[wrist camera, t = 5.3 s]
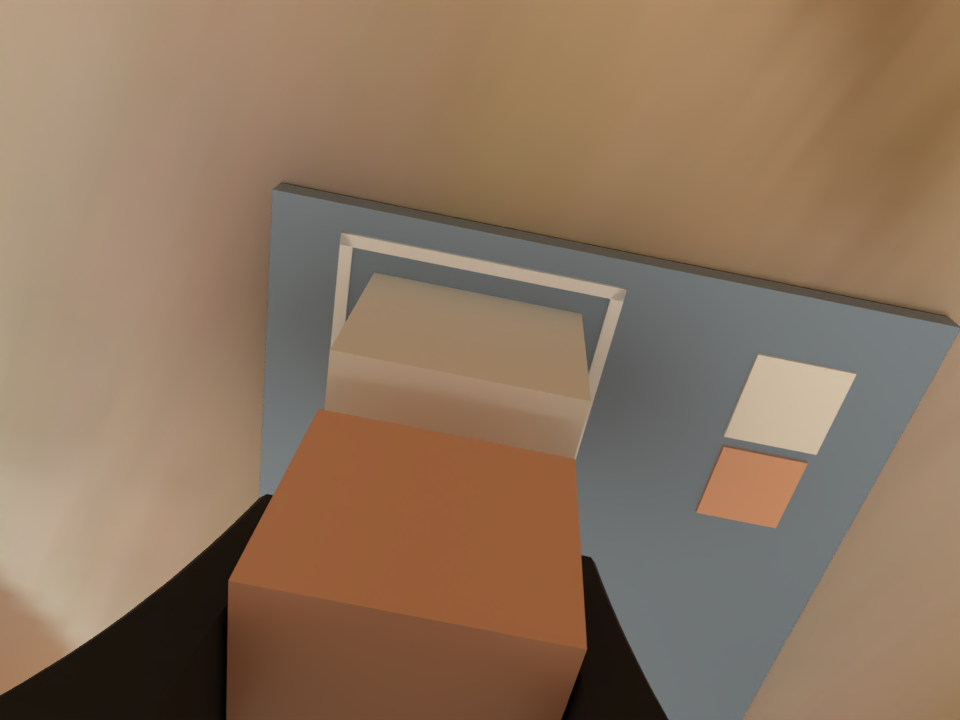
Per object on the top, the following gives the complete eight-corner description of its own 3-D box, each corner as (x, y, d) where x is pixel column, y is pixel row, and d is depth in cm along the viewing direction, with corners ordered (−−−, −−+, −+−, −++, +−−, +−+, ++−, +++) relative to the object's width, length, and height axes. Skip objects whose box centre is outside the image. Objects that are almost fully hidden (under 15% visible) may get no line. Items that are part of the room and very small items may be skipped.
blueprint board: (948, 316, 17) (963, 329, 16) (701, 768, 26) (705, 788, 25) (281, 182, 17) (271, 190, 16) (256, 684, 25) (249, 702, 25)
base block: (581, 313, 17) (591, 401, 14) (536, 479, 19) (534, 590, 16) (374, 272, 17) (329, 349, 14) (354, 443, 19) (311, 546, 16)
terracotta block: (575, 458, 12) (586, 649, 9) (522, 636, 15) (514, 846, 11) (318, 408, 12) (227, 580, 9) (303, 594, 15) (225, 792, 11)
